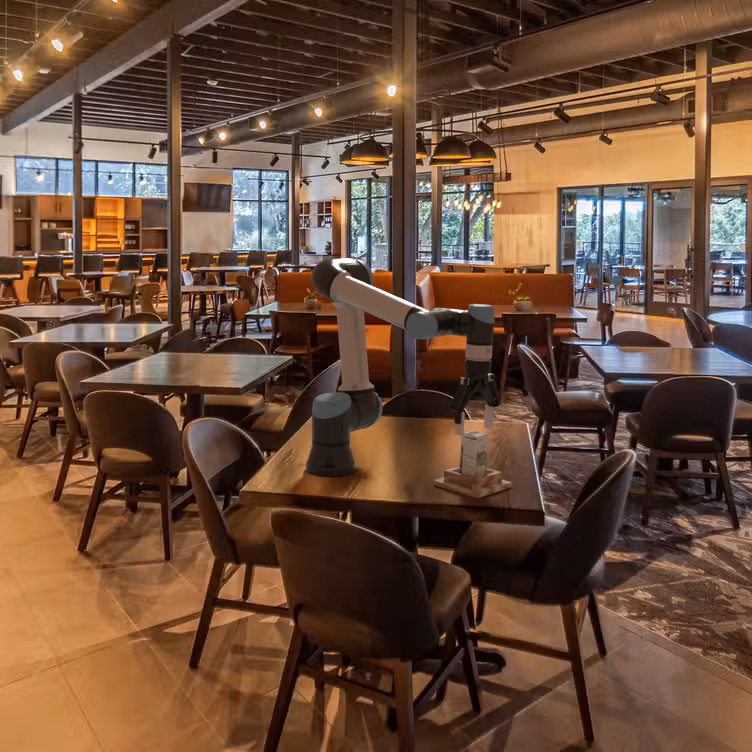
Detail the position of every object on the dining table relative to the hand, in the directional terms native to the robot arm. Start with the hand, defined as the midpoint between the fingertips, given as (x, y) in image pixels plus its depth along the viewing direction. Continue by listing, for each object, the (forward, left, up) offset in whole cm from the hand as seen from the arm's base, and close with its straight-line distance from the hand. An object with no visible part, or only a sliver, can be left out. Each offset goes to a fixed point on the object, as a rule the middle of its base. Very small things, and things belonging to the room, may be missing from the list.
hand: (473, 431), depth 231 cm
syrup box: (0, 0, -15) cm, 15 cm away
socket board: (0, 0, -16) cm, 16 cm away
